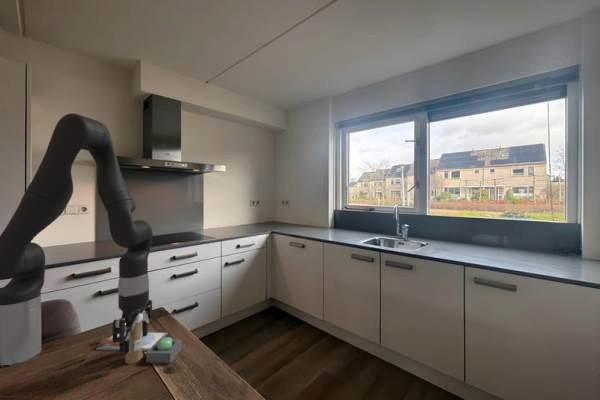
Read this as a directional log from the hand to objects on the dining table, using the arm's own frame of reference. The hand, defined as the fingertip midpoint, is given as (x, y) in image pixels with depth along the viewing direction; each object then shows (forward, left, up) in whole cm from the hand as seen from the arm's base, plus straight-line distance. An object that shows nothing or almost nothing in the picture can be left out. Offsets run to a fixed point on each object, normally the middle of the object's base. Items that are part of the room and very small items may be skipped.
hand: (134, 344), depth 76 cm
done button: (+8, +2, -3) cm, 9 cm away
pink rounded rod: (-11, +6, -4) cm, 13 cm away
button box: (+8, +2, -5) cm, 9 cm away
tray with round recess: (-6, +9, -5) cm, 11 cm away
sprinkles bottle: (0, 0, -5) cm, 5 cm away
